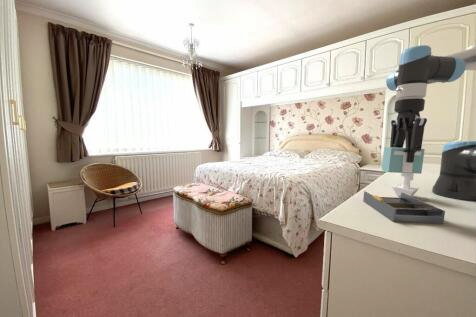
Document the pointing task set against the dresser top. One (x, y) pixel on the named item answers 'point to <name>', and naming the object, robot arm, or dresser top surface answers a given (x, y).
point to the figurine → (405, 185)
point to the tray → (405, 209)
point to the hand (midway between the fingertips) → (401, 170)
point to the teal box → (400, 160)
